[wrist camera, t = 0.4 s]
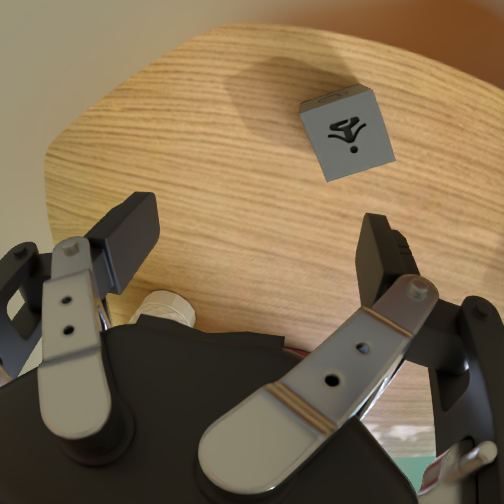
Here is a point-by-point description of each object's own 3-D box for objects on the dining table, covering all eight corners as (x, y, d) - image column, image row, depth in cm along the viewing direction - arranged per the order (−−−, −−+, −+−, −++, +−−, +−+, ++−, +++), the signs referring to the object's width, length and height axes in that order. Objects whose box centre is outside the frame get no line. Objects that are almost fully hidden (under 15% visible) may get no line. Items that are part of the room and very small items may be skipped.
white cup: (156, 331, 41) (127, 391, 33) (131, 286, 37) (93, 348, 29) (209, 332, 39) (186, 399, 31) (188, 283, 35) (155, 353, 27)
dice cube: (360, 83, 21) (372, 89, 17) (380, 141, 23) (395, 160, 19) (300, 103, 23) (298, 114, 19) (323, 159, 25) (326, 182, 21)
